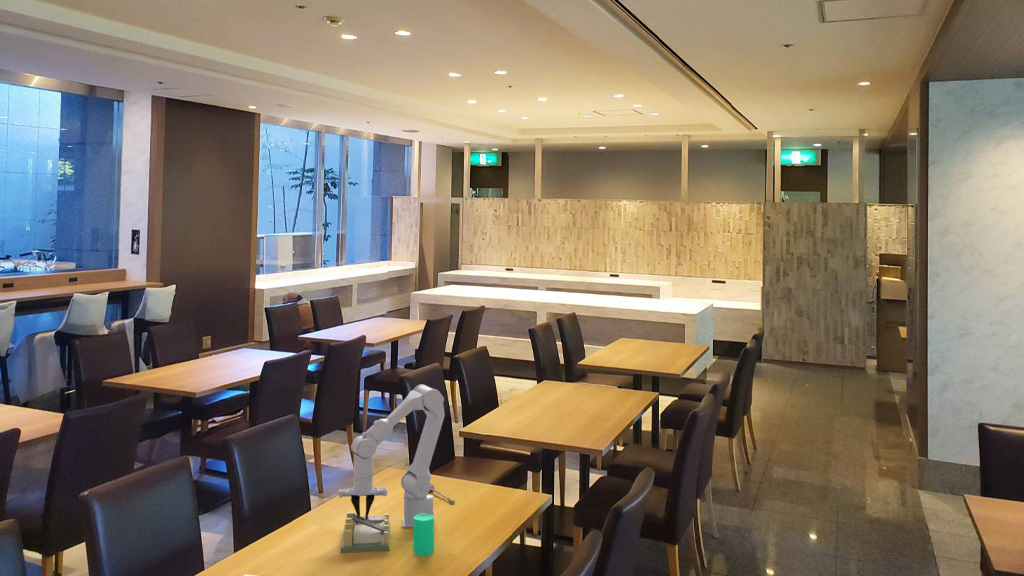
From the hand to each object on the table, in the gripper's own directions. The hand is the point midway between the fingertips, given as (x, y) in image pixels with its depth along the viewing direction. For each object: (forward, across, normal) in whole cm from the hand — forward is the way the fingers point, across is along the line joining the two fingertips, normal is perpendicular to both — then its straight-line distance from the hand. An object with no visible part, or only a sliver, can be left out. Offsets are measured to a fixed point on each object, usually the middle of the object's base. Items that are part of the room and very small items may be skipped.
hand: (362, 518), depth 232 cm
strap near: (-2, -2, +9) cm, 9 cm away
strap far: (+1, -2, 0) cm, 2 cm away
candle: (+5, -18, +15) cm, 24 cm away
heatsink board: (+5, -1, +4) cm, 7 cm away
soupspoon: (+5, -24, -32) cm, 40 cm away
